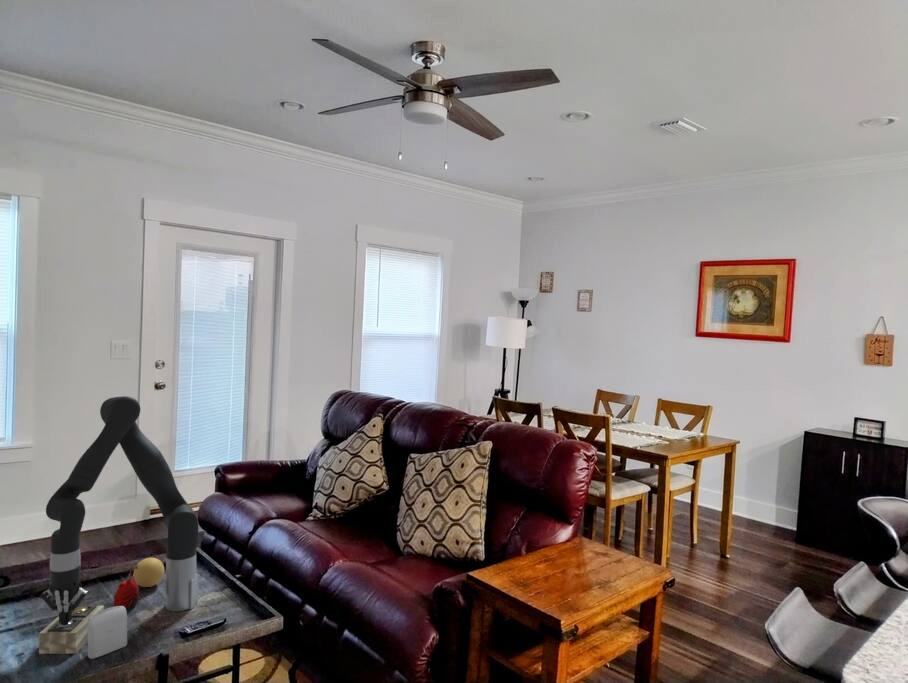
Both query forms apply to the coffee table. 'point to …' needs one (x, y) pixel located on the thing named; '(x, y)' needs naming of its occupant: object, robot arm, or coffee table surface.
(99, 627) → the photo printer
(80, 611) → the peg brass
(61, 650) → the birch block
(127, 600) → the red clay folk toy
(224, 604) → the coffee table surface
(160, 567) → the stress ball
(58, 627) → the peg steel
